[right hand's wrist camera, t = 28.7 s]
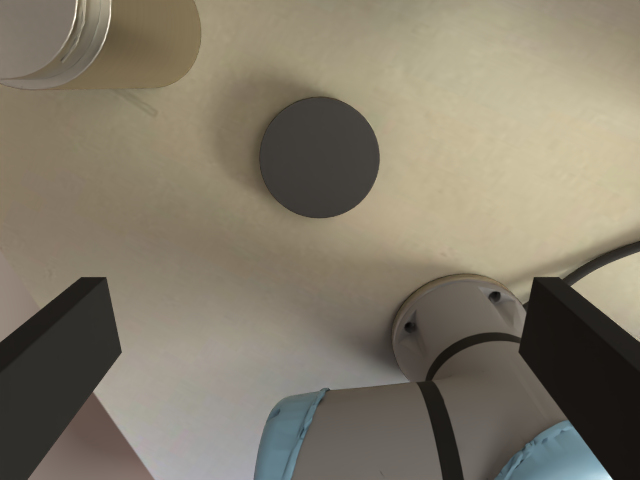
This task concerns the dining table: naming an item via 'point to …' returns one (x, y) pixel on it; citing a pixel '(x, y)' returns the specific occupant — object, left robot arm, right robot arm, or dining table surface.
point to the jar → (97, 43)
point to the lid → (319, 157)
